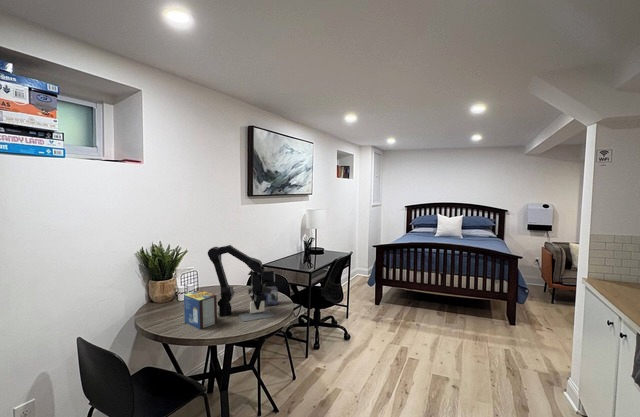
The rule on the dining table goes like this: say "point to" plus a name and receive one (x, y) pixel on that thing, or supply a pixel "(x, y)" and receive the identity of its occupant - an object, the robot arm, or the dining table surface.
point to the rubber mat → (256, 315)
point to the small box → (271, 297)
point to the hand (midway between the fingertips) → (257, 309)
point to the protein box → (200, 309)
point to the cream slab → (253, 308)
